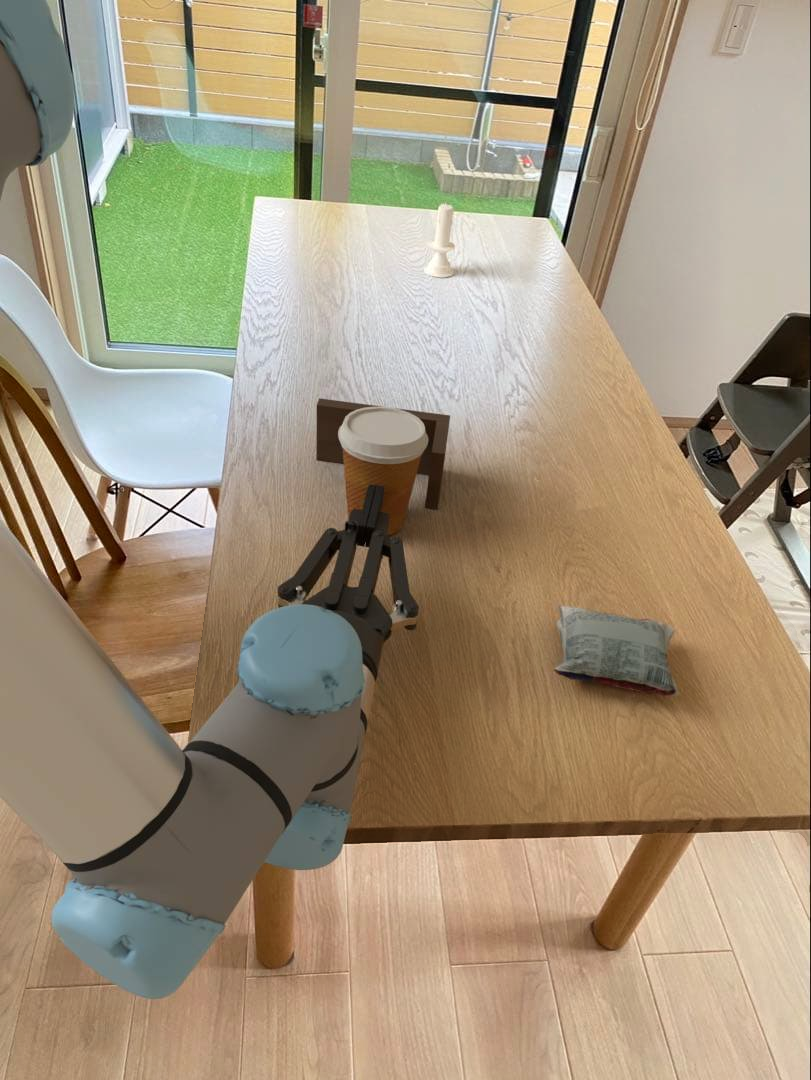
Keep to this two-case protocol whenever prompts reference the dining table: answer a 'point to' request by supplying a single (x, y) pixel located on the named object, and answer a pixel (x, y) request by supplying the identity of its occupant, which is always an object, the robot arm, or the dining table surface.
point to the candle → (441, 244)
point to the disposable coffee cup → (382, 458)
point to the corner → (435, 424)
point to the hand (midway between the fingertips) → (375, 495)
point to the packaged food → (615, 650)
